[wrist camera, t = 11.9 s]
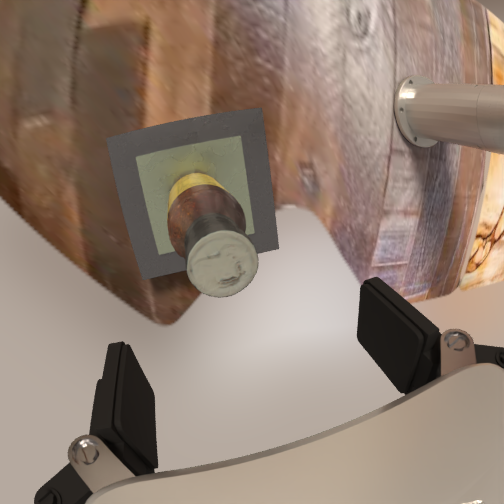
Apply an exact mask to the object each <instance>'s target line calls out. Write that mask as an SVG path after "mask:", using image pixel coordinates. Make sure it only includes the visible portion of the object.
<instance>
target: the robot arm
mask: <svg viewBox="0 0 504 504" xmlns="http://www.w3.org/2000/svg"><path fill="white" fill-rule="evenodd" d="M394 109H395V116H396V121H397V124H398V126H399V128H400V130H401V132H402V134H403V135H404V137H405V138H406V139H407V140H408V141H409V142H410V143H412V144H413V145H416V146H418V147H423V148H426V147H431V146H433V145H435V144H436V143H437V142H438V141H442V142H447V143H453V144H458V145H463V146H467V147H472V148H476V149H481V150H485V151H489V152H493V153H497V154H503V155H504V85H490V84H488V85H487V84H435V83H434V82H432V81H431V80H430V79H428V78H426V77H424V76H419V75H415V76H410V77H407V78H406V79H404V80H403V81H402V82H401V84H400V85H399V87H398V89H397V91H396V95H395V102H394ZM357 338H358V341H359V342H360V344H361V345H362V346H363V347H364V349H365V350H366V351H367V352H368V353H369V355H370V356H371V357H372V358H373V360H374V361H375V362H376V363H377V365H378V366H379V367H380V368H381V369H382V371H383V372H384V373H385V374H386V376H387V377H388V378H389V380H390V381H391V382H392V383H393V385H394V386H395V387H396V388H397V390H398V391H399V392H400V393H404V394H405V396H403V397H401V398H399V399H397V400H395V401H393V402H391V403H389V404H387V405H385V406H383V407H381V408H379V409H376V410H374V411H372V412H370V413H368V414H365V415H363V416H361V417H359V418H356V419H354V420H352V421H349V422H347V423H344V424H342V425H340V426H337V427H334V428H332V429H329V430H327V431H324V432H321V433H319V434H316V435H313V436H310V437H307V438H305V439H301V440H298V441H295V442H292V443H289V444H286V445H283V446H279V447H276V448H273V449H269V450H266V451H262V452H258V453H255V454H251V455H247V456H243V457H239V458H235V459H230V460H226V461H221V462H217V463H211V464H206V465H201V466H195V467H190V468H185V469H178V470H171V471H164V472H158V473H155V472H154V469H155V468H158V456H157V444H156V443H157V441H156V423H155V422H156V421H155V396H154V392H153V390H152V388H151V386H150V384H149V382H148V380H147V378H146V376H145V375H144V373H143V371H142V369H141V367H140V365H139V363H138V361H137V359H136V357H135V355H134V353H133V351H132V349H131V347H130V345H129V344H127V345H125V343H124V342H117V343H111V344H109V345H108V350H107V355H106V360H105V366H104V371H103V377H102V379H99V380H98V382H97V386H96V391H95V398H94V404H93V410H92V418H91V426H90V433H89V435H83V436H80V437H78V438H76V439H75V440H74V441H73V442H72V443H71V445H70V447H69V449H68V459H69V461H70V463H69V464H68V465H66V466H65V467H64V468H63V469H62V470H61V471H59V472H58V473H57V474H56V475H55V476H54V477H53V478H51V480H49V481H48V482H47V483H46V484H44V485H43V486H42V487H41V488H40V489H39V490H38V491H37V493H36V495H35V498H34V504H504V348H503V347H494V346H485V345H477V344H474V342H473V339H472V337H471V336H470V335H469V334H468V333H467V332H465V331H462V330H460V329H449V330H447V331H445V332H444V333H443V334H441V333H440V332H439V328H438V327H436V326H435V325H434V324H433V323H432V322H431V321H430V320H428V319H427V318H426V317H425V316H424V315H423V314H422V313H420V312H419V311H418V310H417V309H416V308H415V307H413V306H412V305H411V304H410V303H409V302H408V301H406V300H405V299H404V298H403V297H402V296H400V295H399V294H398V293H397V292H396V291H394V290H393V289H392V288H391V287H390V286H388V285H387V284H386V283H385V282H384V281H382V280H381V279H380V278H378V277H374V278H371V279H368V280H365V281H364V282H363V285H361V287H360V302H359V316H358V327H357Z"/></svg>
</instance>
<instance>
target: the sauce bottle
mask: <svg viewBox="0 0 504 504" xmlns="http://www.w3.org/2000/svg"><path fill="white" fill-rule="evenodd" d="M167 227H168V234H169V239H170V242H171V244H172V246H173V248H174V249H175V251H176V252H177V254H178V255H179V256H181V257H183V258H184V259H185V263H186V270H187V275H188V277H189V280H190V281H191V283H192V284H193V285H194V286H195V288H196V289H198V290H199V291H201V292H202V293H203V294H206V295H209V296H214V297H228V296H232V295H234V294H236V293H238V292H240V291H241V290H243V289H244V288H245V287H247V286H248V284H249V283H250V282H251V281H252V280H253V278H254V276H255V274H256V273H257V268H258V255H257V251H256V248H255V246H254V244H253V242H252V241H251V239H250V238H249V237H248V236H247V234H246V233H245V231H246V218H245V214H244V211H243V209H242V207H241V205H240V204H239V202H238V201H237V200H236V198H235V197H234V196H233V195H232V194H230V193H229V192H228V191H227V190H226V189H225V188H224V187H223V186H222V185H220V184H219V183H218V182H217V181H216V180H215V179H214V178H212V177H210V176H208V175H205V174H201V173H192V174H189V175H186V176H184V177H182V178H180V179H179V180H178V181H177V182H176V183H175V185H174V186H173V188H172V189H171V191H170V194H169V200H168V214H167Z"/></svg>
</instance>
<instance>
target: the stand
mask: <svg viewBox="0 0 504 504" xmlns="http://www.w3.org/2000/svg"><path fill="white" fill-rule="evenodd" d="M106 140H107V145H108V150H109V155H110V160H111V165H112V169H113V174H114V178H115V182H116V187H117V191H118V195H119V199H120V203H121V207H122V211H123V215H124V218H125V222H126V226H127V229H128V233H129V236H130V240H131V243H132V247H133V250H134V253H135V257H136V260H137V263H138V266H139V269H140V273H141V276H142V279H143V280H145V279H150V278H154V277H159V276H163V275H167V274H172V273H176V272H180V271H185V270H186V263H185V259H184V258H183V257H181V256H179V255H178V254H177V252H176V251H175V249H174V248H173V246H172V244H171V242H170V239H169V234H168V227H167V214H168V200H169V194H170V191H171V189H172V188H173V186H174V185H175V183H176V182H177V181H178V180H179V179H180V178H182V177H184V176H186V175H189V174H192V173H201V174H205V175H208V176H210V177H212V178H214V179H215V180H216V181H217V182H218V183H219V184H220V185H222V186H223V187H224V188H225V189H226V190H227V191H228V192H229V193H230V194H232V195H233V196H234V197H235V198H236V200H237V201H238V202H239V204H240V205H241V207H242V209H243V211H244V214H245V218H246V231H245V233H246V234H247V236H248V237H249V238H250V239H251V241H252V242H253V244H254V246H255V248H256V251H257V254H258V253H263V252H267V251H271V250H276V249H279V244H278V235H277V227H276V217H275V208H274V200H273V191H272V183H271V175H270V167H269V159H268V151H267V143H266V136H265V128H264V121H263V113H262V108H254V109H246V110H239V111H231V112H224V113H218V114H212V115H206V116H200V117H195V118H189V119H184V120H179V121H174V122H169V123H165V124H160V125H156V126H152V127H147V128H143V129H139V130H135V131H131V132H128V133H124V134H120V135H116V136H113V137H109V138H106Z"/></svg>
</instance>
